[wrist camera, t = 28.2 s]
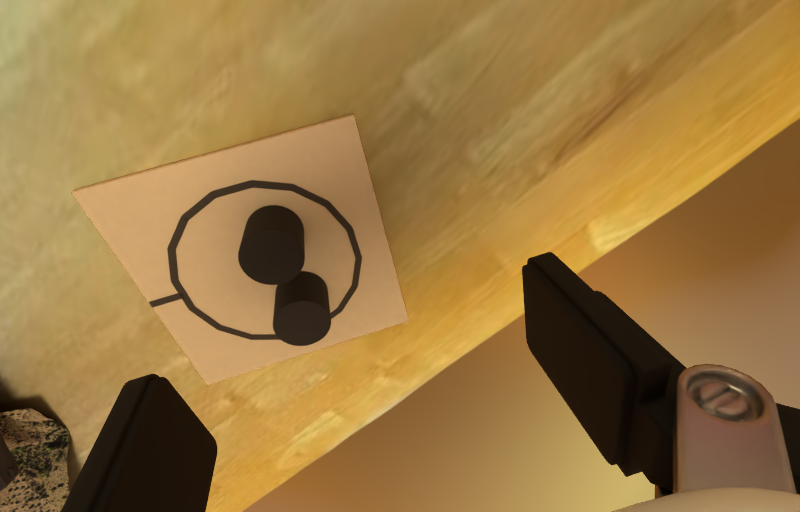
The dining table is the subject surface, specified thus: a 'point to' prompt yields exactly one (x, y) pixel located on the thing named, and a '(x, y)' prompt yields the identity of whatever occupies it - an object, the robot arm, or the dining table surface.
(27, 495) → the landscape model
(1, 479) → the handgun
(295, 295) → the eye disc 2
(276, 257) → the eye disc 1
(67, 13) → the dining table surface
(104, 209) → the drawing pad
